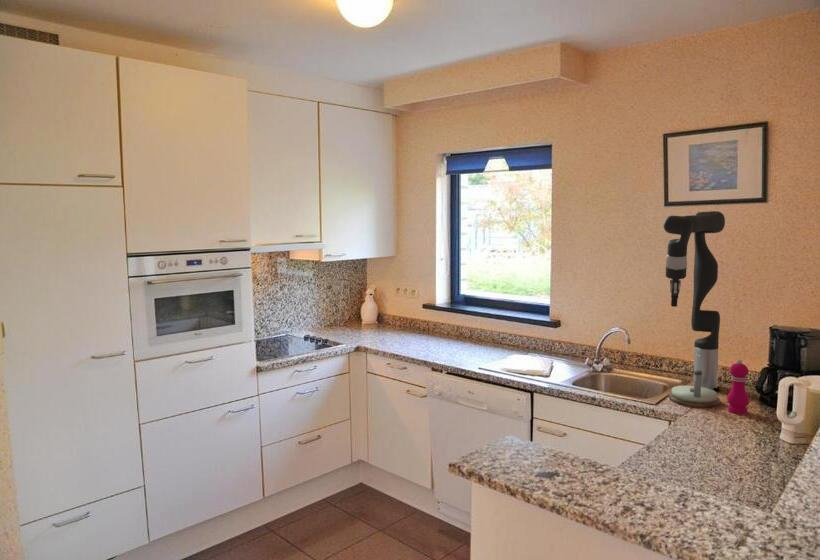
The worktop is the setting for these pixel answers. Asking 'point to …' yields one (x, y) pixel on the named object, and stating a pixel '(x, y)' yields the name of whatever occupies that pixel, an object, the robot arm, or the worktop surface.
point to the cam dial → (695, 391)
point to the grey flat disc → (694, 403)
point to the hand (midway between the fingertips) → (674, 305)
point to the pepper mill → (738, 389)
